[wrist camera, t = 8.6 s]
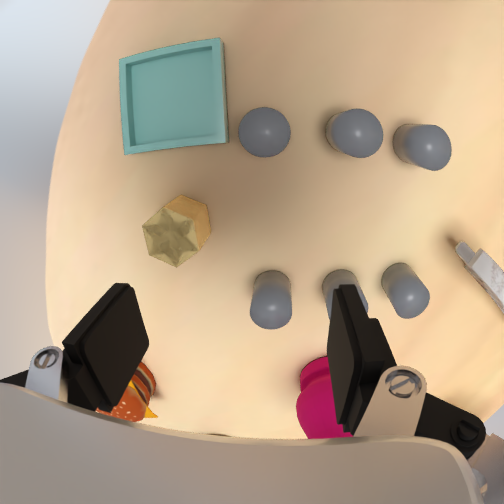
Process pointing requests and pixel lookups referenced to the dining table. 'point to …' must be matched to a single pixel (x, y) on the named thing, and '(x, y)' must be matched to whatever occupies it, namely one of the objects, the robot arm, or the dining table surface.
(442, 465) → the robot arm
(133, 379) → the hamburger
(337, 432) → the pepper mill
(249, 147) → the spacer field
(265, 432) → the dining table surface
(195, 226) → the gold hexagonal prism
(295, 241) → the dining table surface
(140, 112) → the teal dish
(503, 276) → the silver wrench
